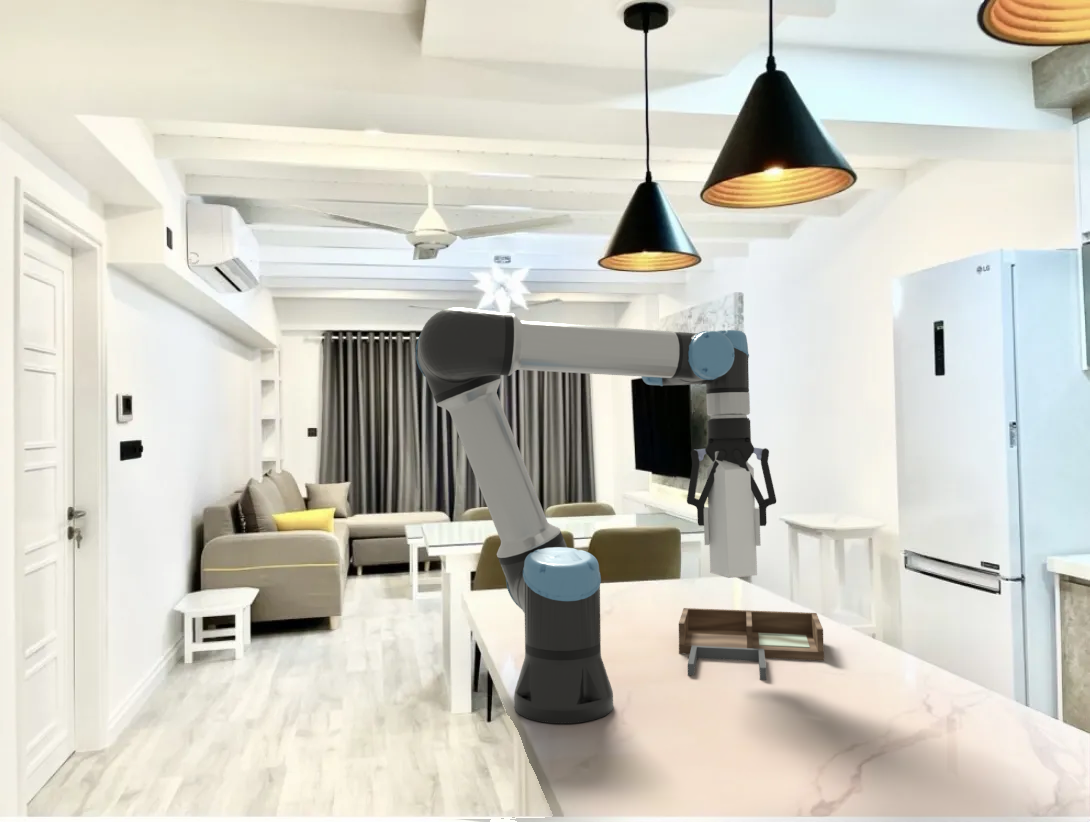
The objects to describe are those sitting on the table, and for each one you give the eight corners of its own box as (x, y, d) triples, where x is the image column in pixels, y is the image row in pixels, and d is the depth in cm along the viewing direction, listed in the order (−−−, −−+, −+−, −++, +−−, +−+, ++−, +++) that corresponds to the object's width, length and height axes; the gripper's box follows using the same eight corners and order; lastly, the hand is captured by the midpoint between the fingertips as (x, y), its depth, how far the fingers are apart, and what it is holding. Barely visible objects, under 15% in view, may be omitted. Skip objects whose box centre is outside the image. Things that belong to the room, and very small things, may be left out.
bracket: (766, 679, 134) (765, 667, 134) (687, 675, 137) (687, 663, 137) (764, 659, 146) (764, 648, 146) (691, 656, 149) (691, 645, 149)
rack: (824, 660, 145) (823, 630, 145) (679, 653, 151) (678, 624, 151) (817, 640, 159) (816, 612, 159) (684, 634, 165) (683, 608, 165)
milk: (710, 573, 145) (705, 451, 145) (738, 570, 147) (733, 449, 147) (728, 578, 139) (723, 451, 140) (758, 575, 141) (753, 450, 142)
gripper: (788, 415, 145) (792, 541, 144) (671, 419, 150) (675, 540, 149) (790, 415, 137) (795, 548, 137) (667, 418, 143) (671, 546, 142)
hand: (732, 544), depth 143 cm, fingers closed on milk, 8 cm apart
